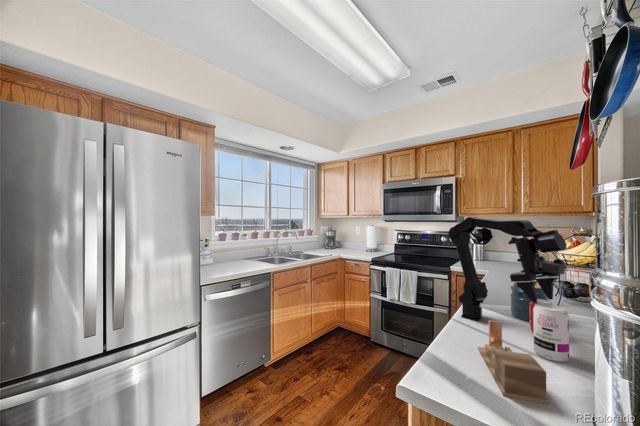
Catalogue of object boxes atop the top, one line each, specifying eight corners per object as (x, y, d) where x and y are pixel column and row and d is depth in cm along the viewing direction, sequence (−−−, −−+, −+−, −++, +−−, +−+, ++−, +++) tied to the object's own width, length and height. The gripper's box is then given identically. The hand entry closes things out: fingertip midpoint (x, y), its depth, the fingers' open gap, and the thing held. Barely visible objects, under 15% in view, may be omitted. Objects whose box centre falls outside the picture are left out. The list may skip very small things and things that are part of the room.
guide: (477, 349, 84) (477, 326, 84) (510, 353, 81) (510, 330, 81) (503, 395, 62) (502, 365, 62) (549, 404, 59) (548, 372, 59)
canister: (531, 311, 117) (530, 272, 117) (558, 323, 104) (557, 279, 104) (503, 311, 117) (502, 272, 117) (527, 323, 104) (526, 279, 104)
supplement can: (562, 352, 82) (561, 304, 82) (574, 365, 74) (573, 313, 74) (530, 346, 85) (529, 301, 85) (539, 359, 78) (538, 309, 78)
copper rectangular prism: (489, 348, 82) (488, 319, 82) (500, 350, 81) (500, 321, 81) (503, 372, 69) (503, 338, 70) (517, 374, 68) (517, 340, 69)
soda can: (560, 339, 91) (559, 304, 91) (537, 337, 92) (536, 303, 92) (546, 330, 97) (546, 298, 98) (525, 328, 99) (525, 297, 99)
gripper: (539, 253, 80) (556, 305, 76) (570, 250, 88) (588, 297, 84) (503, 257, 90) (516, 304, 86) (534, 254, 98) (548, 297, 94)
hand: (543, 301), depth 87 cm, fingers open, 9 cm apart
